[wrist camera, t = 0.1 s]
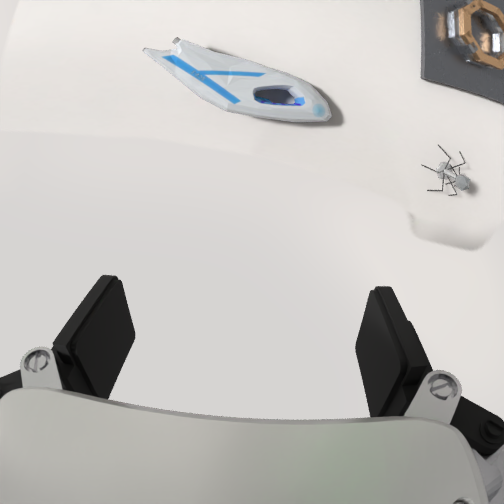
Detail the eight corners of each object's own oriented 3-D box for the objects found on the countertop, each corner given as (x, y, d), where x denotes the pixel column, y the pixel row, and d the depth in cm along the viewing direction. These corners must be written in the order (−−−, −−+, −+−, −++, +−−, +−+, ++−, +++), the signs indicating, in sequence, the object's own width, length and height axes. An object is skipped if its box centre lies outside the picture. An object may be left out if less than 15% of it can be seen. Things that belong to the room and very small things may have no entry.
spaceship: (325, 146, 34) (314, 146, 38) (344, 95, 32) (331, 100, 36) (127, 80, 29) (137, 86, 34) (149, 29, 28) (157, 40, 32)
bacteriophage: (458, 198, 39) (481, 216, 33) (414, 188, 39) (435, 205, 34) (469, 153, 36) (495, 166, 30) (425, 139, 36) (448, 150, 30)
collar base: (416, -37, 23) (429, -46, 20) (513, 5, 22) (529, 3, 19) (420, 78, 32) (435, 78, 28) (515, 108, 31) (532, 112, 27)
